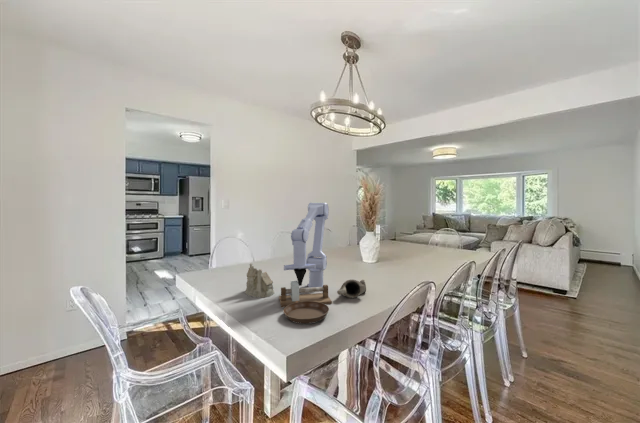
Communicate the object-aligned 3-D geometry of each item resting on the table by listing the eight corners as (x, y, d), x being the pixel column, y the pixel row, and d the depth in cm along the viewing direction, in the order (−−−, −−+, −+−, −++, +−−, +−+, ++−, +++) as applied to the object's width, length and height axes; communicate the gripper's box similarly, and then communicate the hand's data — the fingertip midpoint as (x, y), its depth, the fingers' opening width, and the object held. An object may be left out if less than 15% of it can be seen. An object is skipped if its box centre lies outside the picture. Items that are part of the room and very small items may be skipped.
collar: (290, 296, 130) (290, 281, 129) (297, 295, 130) (297, 280, 130) (292, 301, 123) (292, 285, 123) (299, 301, 123) (299, 285, 123)
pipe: (344, 310, 137) (346, 304, 124) (332, 295, 141) (334, 287, 127) (369, 290, 142) (374, 282, 129) (358, 276, 145) (362, 266, 132)
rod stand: (279, 298, 131) (279, 284, 131) (325, 294, 135) (325, 281, 135) (281, 307, 119) (280, 292, 119) (331, 303, 124) (331, 289, 124)
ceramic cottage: (261, 299, 130) (262, 265, 130) (238, 293, 139) (239, 262, 140) (285, 292, 142) (285, 262, 143) (262, 288, 152) (263, 259, 152)
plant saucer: (291, 330, 99) (291, 321, 99) (278, 312, 115) (277, 304, 115) (337, 321, 106) (337, 313, 106) (318, 305, 122) (318, 298, 122)
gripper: (284, 257, 124) (284, 288, 124) (317, 256, 127) (317, 286, 127) (283, 254, 131) (283, 284, 131) (314, 253, 134) (314, 282, 134)
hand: (299, 285), depth 129 cm, fingers closed
